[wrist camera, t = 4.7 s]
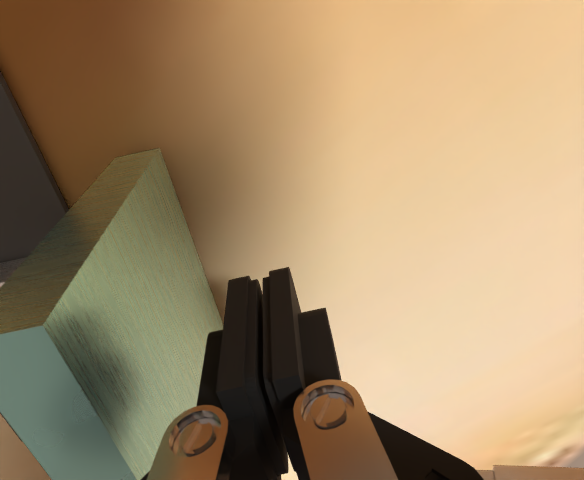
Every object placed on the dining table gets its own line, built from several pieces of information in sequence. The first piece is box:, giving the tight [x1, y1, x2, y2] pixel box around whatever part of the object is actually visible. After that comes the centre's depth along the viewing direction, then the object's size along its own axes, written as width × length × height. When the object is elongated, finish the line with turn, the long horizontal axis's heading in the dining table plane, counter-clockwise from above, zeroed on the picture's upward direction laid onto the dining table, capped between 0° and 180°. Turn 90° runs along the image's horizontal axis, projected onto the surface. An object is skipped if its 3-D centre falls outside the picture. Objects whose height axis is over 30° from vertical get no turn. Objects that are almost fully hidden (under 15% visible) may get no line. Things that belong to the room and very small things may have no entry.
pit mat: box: [0, 71, 69, 441], centre depth 17 cm, size 16×7×1 cm, turn 12°
